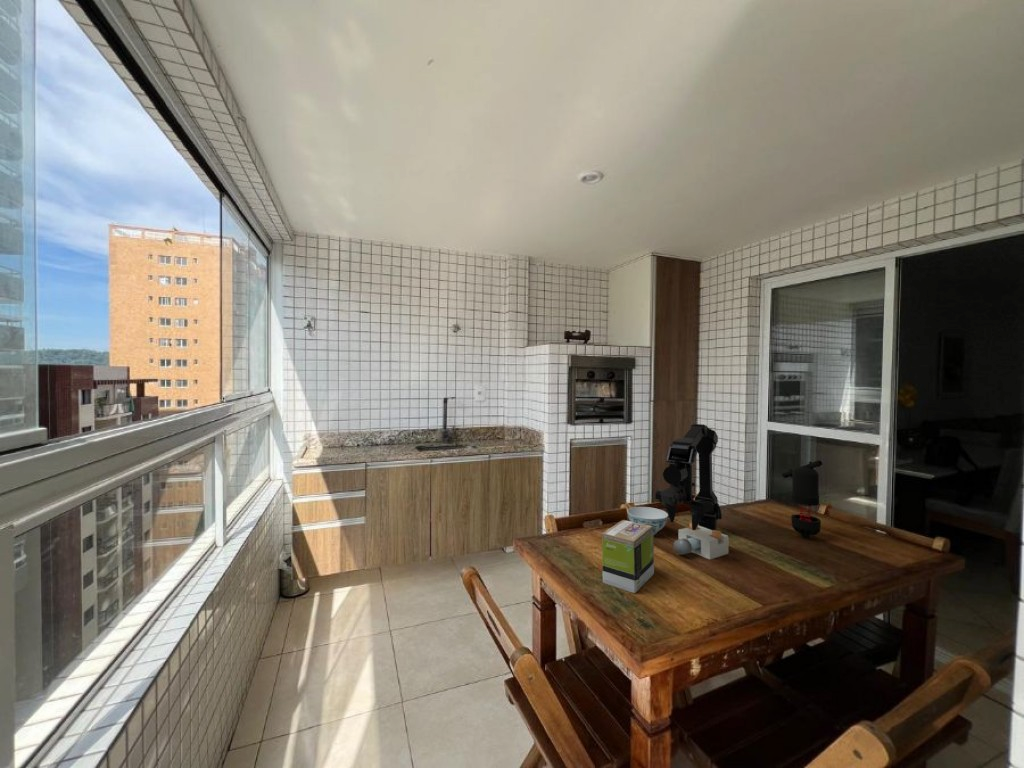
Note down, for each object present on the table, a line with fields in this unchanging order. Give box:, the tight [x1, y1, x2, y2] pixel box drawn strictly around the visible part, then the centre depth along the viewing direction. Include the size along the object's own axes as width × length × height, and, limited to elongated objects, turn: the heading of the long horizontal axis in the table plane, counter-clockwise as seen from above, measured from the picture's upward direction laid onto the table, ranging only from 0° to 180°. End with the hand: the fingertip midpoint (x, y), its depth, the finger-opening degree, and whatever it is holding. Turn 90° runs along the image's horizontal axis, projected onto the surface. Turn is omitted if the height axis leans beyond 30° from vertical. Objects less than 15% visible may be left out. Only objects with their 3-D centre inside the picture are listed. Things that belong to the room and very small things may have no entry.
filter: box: [781, 459, 823, 540], centre depth 150 cm, size 14×9×30 cm
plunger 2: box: [712, 530, 722, 541], centre depth 134 cm, size 3×3×2 cm
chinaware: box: [627, 506, 669, 536], centre depth 154 cm, size 15×15×8 cm
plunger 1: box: [688, 521, 699, 530], centre depth 142 cm, size 3×3×2 cm
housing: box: [678, 525, 729, 561], centre depth 137 cm, size 10×12×6 cm
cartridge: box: [673, 537, 701, 555], centre depth 135 cm, size 16×5×5 cm, turn 119°
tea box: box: [601, 519, 655, 594], centre depth 116 cm, size 15×10×15 cm, turn 141°
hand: (682, 526), depth 132 cm, fingers open, 8 cm apart
